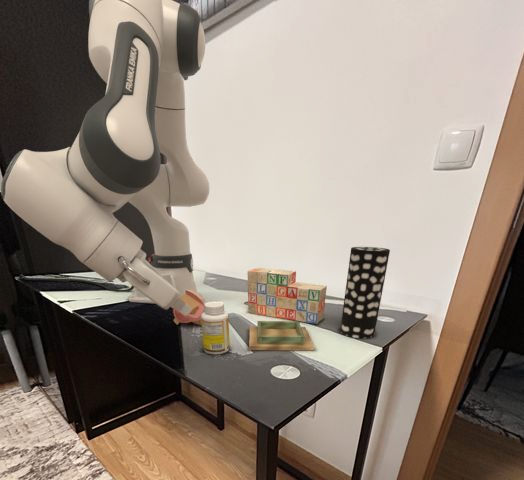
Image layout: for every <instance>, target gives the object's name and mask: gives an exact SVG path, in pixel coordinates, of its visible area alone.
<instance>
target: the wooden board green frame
mask: <svg viewBox="0 0 524 480" xmlns="http://www.w3.org/2000/svg"><path fill="white" fill-rule="evenodd" d="M314 350H315V345H314V343H313V340H312V339H311V336H310V334H309V332H308V330H307V328H306V326H301V324H300V321H296V320H257V325H256V326H249V339H248V351H314Z"/></svg>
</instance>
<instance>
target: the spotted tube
mask: <svg viewBox="0 0 524 480" xmlns="http://www.w3.org/2000/svg"><path fill="white" fill-rule="evenodd" d="M390 253H391V249H389V248H386V247H385V248H384V247H374V246H352V247H351V248H350V253H349V262H348V269H347V270H348V271H347V277H346V285H345V291H344V297H343V298H344V299H343V300H344V301H343V306H342V314H341V321H340V329H339V331H340V333H341V334H343V335H344V336H347V337H350V338H353V339H370V338H373V337H374V336H375V334H376V329H377V323H378V317H379V311H380V306H381V302H382V296H383V291H384V287H385V280H386V275H387V269H388V263H389V257H390Z"/></svg>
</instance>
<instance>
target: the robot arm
mask: <svg viewBox="0 0 524 480" xmlns="http://www.w3.org/2000/svg"><path fill="white" fill-rule="evenodd" d="M88 13H89V26H88V37H87V38H88V39H87V40H88V44H87V45H88V57H89V60H90V63H91V64H92V67H93V68H94V70H95V71H96V73H97V74H98V76H99V77H100V78H101V80H102V81H103V82H104V83H106V89H105V93H104V96H103V97H101V99H100V100H98V101H97V102H96V103H94V104H93V105H92V106H91V107H90V108H89V109H88V110H87V112H86V113H85V116H84V117H83V121H82V123H81V126H80V129H79V131H78V133H77V136H76V137H75V139H74V141H73V143H72V145H71V146H68V147H66V148H62V149H59V150H53V151H33V150H29V149H21V150H20V151H18V152H17V153H16V154H15V155H14V156H13V158H11V161H10V162H9V164H8V166H7V167H6V170H5V173H4V176H3V177H2V181H1V183H0V195H1V198H2V200H3V201H4V204H6V205H7V206H8V207H9V208H10V210H12V211H13V212H14V213H15V214H16V215H17V216H18V217H19V218H21V219H22V220H23V221H24V222H25V223H27V224H28V225H29V226H31V227H32V228H33V229H35V231H36V232H38V233H39V234H41V235H42V236H44V237H45V238H46V239H48V240H49V241H51V242H52V243H54V244H55V245H58V246H61V247H63V248H64V249H67V250H68V251H69V252H70V253H71V254H73V255H74V256H75V258H76V259H77V260H78V262H80V263H82V264H83V265H85V266H86V267H87V268H89V269H90V270H91V271H93V272H95V273H96V274H97V275H99V276H100V277H102V278H103V279H104V280H106V281H107V282H109V283H111V282H113V281H114V280H115V279H117V280H119V281H120V282H122V283H126V282H128V283H129V284H130V285H131V286H130V288H126V289H119V288H115V287H110V286H107V285H105V284H103V283H101V282H97V281H94V280H93V281H92V280H86V279H78V278H59V277H58V278H56V277H55V278H54V277H52V278H49V277H48V278H47V277H46V278H45V277H42V278H41V277H40V278H39V277H38V278H34V277H32V278H31V277H26V276H25V275H24V274H23V273H21V274H19V276H18V279H23V280H24V281H25V280H26V281H32V282H35V281H36V282H37V281H39V282H41V281H51V282H52V281H53V282H79V283H87V284H92V285H95V286H98V287H102V288H104V289H106V290H108V291H114V292H117V293H129V292H131V291H133V290H134V292H132V293H130V295H129V296H128V301H129V302H130V303H140V304H155V305H157V306H158V307H160V308H161V309H163V310H165V311H166V310H169V309H170V308H171V307H172V309H176V310H177V311H179V312H181V313H182V314H183V315H185V316H187V315H188V314H189V313H190V312H191V311H192V308H191V307H190V306H189V305H187V304H186V303H185V302H184V301H183V300H182V299H180V298H179V297H181V296H183V295H185V294H186V291H185V290H192V291H194V292H196V293H198V294H199V292H198V290H197V287H196V282H195V278H194V260H193V259H194V258H193V254H192V252H191V243H190V232H189V229H188V227H187V226H186V225H185V224H184V223H183V222H181V221H180V220H178V219H176V218H174V217H172V216H171V215H169V213H168V211H167V208H168V207H176V208H179V207H181V208H182V207H183V208H184V207H185V208H191V207H196V206H200V205H201V206H202V205H204V204H205V203H206V201H207V200H208V199H209V195H210V182H209V179H208V177H207V175H206V174H205V172H204V171H203V170H202V169H201V168H200V167H199V165H197V164H196V162H195V160H194V159H193V157H192V155H191V153H190V150H189V147H188V142H187V131H186V130H187V129H186V92H185V82H184V81H188V80H189V77H192V76H195V75H196V74H197V73H198V72H199V71H200V70H201V68H202V63H203V60H204V57H205V54H206V36H205V31H204V27H203V20H202V18H201V16H200V14H199V12H198V10H196V9H195V8H193V7H192V6H190V5H188V4H187V3H185V2H180V3H179V2H177V1H175V0H88ZM161 154H162V155H163V156H164V157H166V163H164V164H163V163H161V160H162V159H161ZM127 203H129V204H130V205H132V206H133V207H134V208H136V209H137V210H138V211H139V213H141V215H142V216H143V217H144V219H145V220H146V222H147V224H148V227H149V229H150V233H151V237H152V243H153V250H154V253H152V254H151V256H149V257H148V258H147V253H146V252H145V251H144V250H142V249H141V248H142V246H143V243H144V241H143V239H141V238H140V237H139V236H137V234H135V233H134V232H133V231H131V230H130V229H129V228H128V227H127V226H125V225H124V224H123V223H122V221H120V220H119V219H118V218H116V217H115V215H114V213H115V212H117V211H118V210H120V209H121V208H122V207H124V206H125V204H127ZM146 258H147V259H146Z"/></svg>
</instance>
